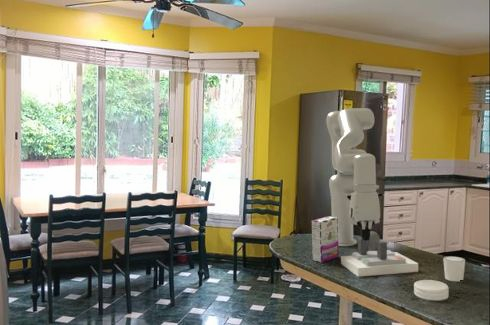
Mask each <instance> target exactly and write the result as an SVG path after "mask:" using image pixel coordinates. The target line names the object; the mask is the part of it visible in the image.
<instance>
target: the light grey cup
mask: <svg viewBox="0 0 490 325" xmlns="http://www.w3.org/2000/svg"><path fill="white" fill-rule="evenodd" d="M465 265H466V259H465V258H463V257H459V256H452V255H451V256H444V257H443V268H444V278H445V280H446V281H447V280H448V281H449V282H450V281H451V282H461V281H460V280H464V273H465Z"/></svg>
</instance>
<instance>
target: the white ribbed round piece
mask: <svg viewBox="0 0 490 325" xmlns="http://www.w3.org/2000/svg"><path fill="white" fill-rule="evenodd" d="M449 292H450V291H449V285H447V283H444V282H442V281H438V280H433V279H420V280H417V281H415V282H414V283H413V293H414V294H413V295H415V296H416V297H417V298H418V299H423V300H427V301H433V302H434V301H437V302H438V301H445V300H448V298H449V297H450V296H449V295H450V294H449Z"/></svg>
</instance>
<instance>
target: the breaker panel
mask: <svg viewBox="0 0 490 325" xmlns="http://www.w3.org/2000/svg"><path fill="white" fill-rule="evenodd" d="M340 264H341V265H342V267H344V268H346V269H347V270H349V271H350V272H351V273H352V274H354V275H355V276H357V277H369V276H380V275H394V274H405V273H406V274H407V273H418V272H419V263H418V262H416V261H414V260H413V259H410V258H409V257H407V256H405V255H402V254H401V253H399V252H396V251H395V252H394V251H391V250H390V249H387V259H379V258H378V257H377V250H375V251H369V250H368V246H367V240H366V241H365V240H363V239H362V238H361V236H360V237H357V252H352V254H351V255H341V256H340Z"/></svg>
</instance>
